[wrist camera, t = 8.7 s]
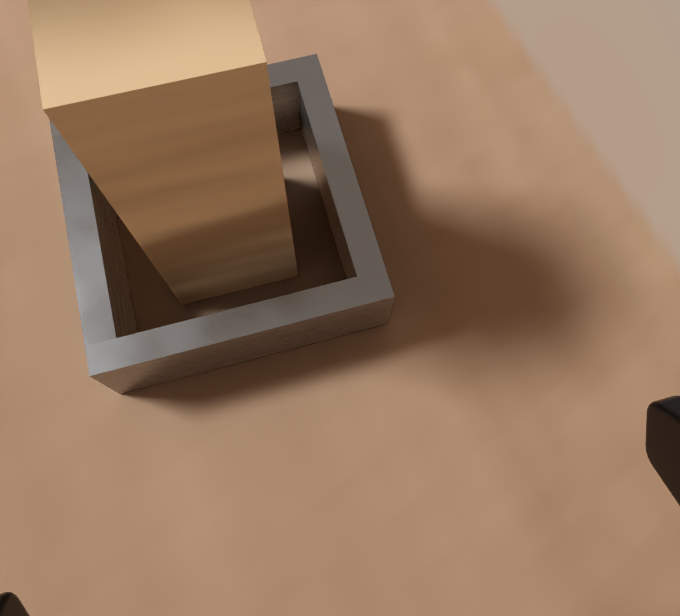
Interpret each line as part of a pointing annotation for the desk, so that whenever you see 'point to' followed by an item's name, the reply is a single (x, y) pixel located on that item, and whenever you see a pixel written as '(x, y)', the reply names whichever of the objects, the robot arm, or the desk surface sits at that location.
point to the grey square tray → (241, 322)
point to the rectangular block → (173, 132)
